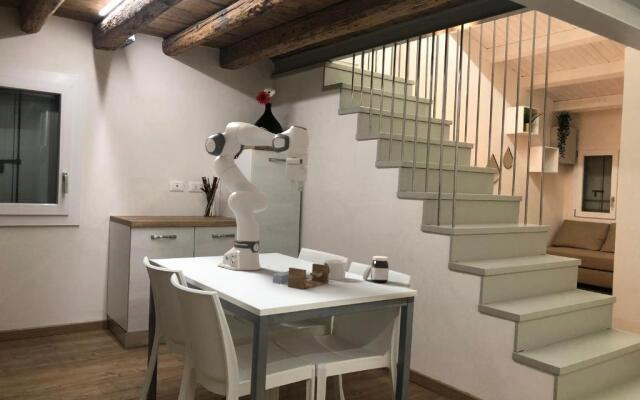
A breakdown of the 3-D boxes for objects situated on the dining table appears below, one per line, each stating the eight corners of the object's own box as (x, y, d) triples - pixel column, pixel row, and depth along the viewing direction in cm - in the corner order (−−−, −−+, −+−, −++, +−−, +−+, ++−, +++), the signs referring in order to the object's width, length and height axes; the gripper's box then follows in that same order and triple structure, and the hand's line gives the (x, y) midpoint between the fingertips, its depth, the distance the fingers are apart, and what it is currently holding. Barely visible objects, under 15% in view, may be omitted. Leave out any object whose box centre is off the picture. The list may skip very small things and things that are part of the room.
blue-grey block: (281, 284, 228) (282, 275, 228) (272, 283, 231) (272, 274, 230) (300, 280, 239) (300, 271, 239) (291, 279, 242) (292, 270, 242)
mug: (350, 279, 247) (350, 262, 247) (331, 280, 241) (332, 263, 241) (333, 274, 258) (334, 258, 258) (315, 275, 252) (316, 259, 252)
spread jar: (389, 284, 239) (390, 258, 239) (365, 283, 239) (366, 257, 238) (384, 279, 251) (385, 255, 251) (361, 278, 251) (362, 254, 250)
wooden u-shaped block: (303, 289, 218) (304, 270, 218) (288, 286, 223) (288, 267, 222) (328, 283, 234) (329, 265, 234) (313, 280, 238) (314, 263, 238)
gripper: (298, 162, 254) (297, 190, 254) (284, 159, 234) (283, 190, 234) (310, 162, 252) (309, 191, 252) (298, 159, 232) (296, 191, 232)
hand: (296, 191), depth 243 cm, fingers open, 8 cm apart
